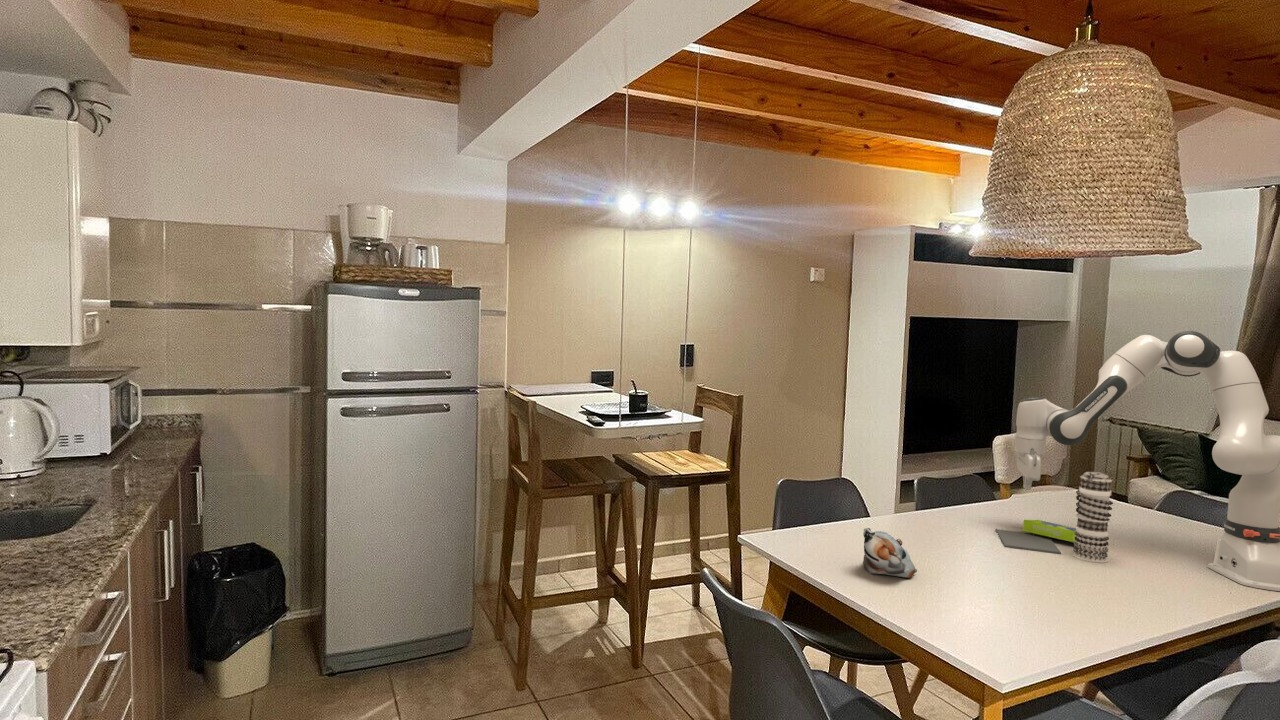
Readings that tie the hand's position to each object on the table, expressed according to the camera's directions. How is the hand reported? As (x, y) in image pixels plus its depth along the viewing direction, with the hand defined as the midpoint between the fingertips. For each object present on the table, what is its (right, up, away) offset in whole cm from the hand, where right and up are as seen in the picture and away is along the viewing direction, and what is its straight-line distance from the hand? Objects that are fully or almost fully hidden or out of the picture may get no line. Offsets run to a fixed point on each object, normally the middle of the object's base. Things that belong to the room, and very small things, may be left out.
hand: (1027, 489), depth 233 cm
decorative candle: (+6, -16, -23) cm, 29 cm away
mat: (-5, -15, -9) cm, 18 cm away
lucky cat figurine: (-60, -15, -44) cm, 76 cm away
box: (+2, -12, +2) cm, 12 cm away
